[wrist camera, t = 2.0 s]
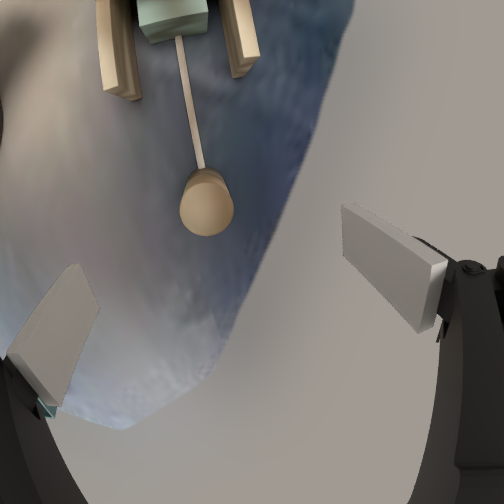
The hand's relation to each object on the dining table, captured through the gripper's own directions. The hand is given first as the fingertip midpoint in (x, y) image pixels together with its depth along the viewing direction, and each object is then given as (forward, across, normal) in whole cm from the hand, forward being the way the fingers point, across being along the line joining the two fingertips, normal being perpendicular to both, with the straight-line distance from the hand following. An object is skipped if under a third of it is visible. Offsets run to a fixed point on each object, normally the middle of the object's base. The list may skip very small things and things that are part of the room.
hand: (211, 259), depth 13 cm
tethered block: (+18, 0, +11) cm, 21 cm away
